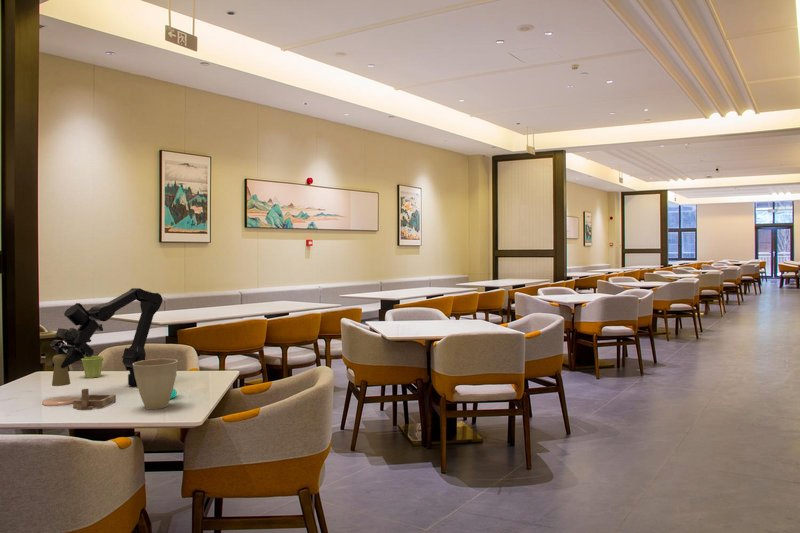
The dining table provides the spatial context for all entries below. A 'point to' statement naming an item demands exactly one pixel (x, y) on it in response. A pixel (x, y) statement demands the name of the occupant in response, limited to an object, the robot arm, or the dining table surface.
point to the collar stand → (93, 401)
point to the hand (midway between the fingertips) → (57, 367)
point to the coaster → (59, 401)
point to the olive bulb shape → (60, 371)
